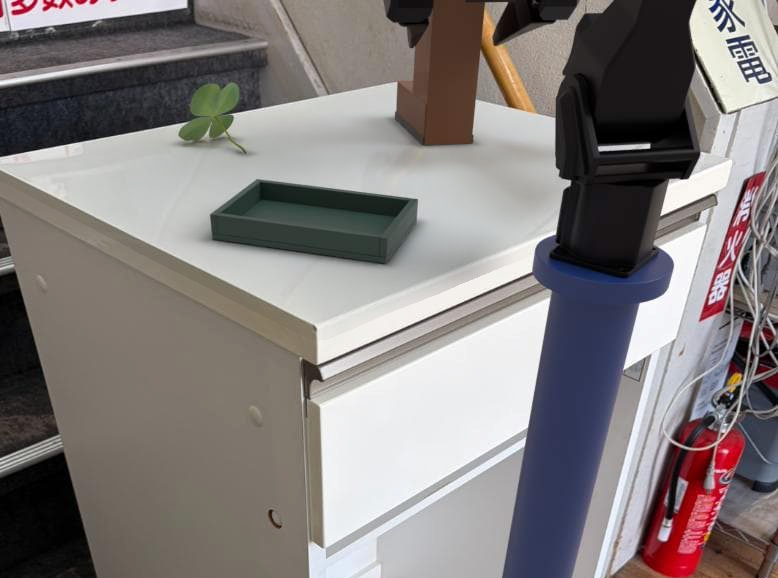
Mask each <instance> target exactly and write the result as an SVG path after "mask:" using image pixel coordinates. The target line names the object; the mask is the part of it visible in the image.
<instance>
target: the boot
mask: <svg viewBox="0 0 778 578" xmlns="http://www.w3.org/2000/svg"><path fill="white" fill-rule="evenodd" d="M485 7H486V2H476V3H466V2H465V0H434V5H433V10H432V13H431V15H430V17H428V19H429V26H428V27H427V29H426V31H425V32H424V34H423V35H422V37H421V39H420V40H419V42H418V44H417V45H416V46H415V47H414V59H413V77H412V80H397V83H396V106H395V107H396V109H395V111H394V119H395V120H396V121H397V123H398V124H400V125H401V127H403V128H404V129H405V130H406V131H407V132H408V133H409V134H410V135H411V136H412V137H413V138H414V139H416V141H418V143H420V144H421V145H422V146H441V145H463V144H464V145H465V144H473V143H474V134H473V133H474V122H475V113H476V112H475V111H476V103H477V102H476V100H477V91H478V79H479V71H480V60H481V49H482V39H483V29H484V19H485V10H486V9H485Z"/></svg>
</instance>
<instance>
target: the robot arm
mask: <svg viewBox="0 0 778 578" xmlns="http://www.w3.org/2000/svg"><path fill="white" fill-rule="evenodd" d="M382 1H383V6H384V11H385V12H384V13H385V17H386V18H387V20H389V21H390V22H392V23H393V24H398V26H400V27H402V28H406V34H407V43H408V48H409V49H415V46H416V45H417V44H418V42H419V40H420V39H421V37H422V35H423V34H424V32H425V31H426V29H427V27H428V26H429V19H428V17H430V15H431V13H432V10H433V5H434V0H382ZM580 1H581V0H465V2H466V3H476V2H485V3H507V4H506V5H505V7H504V10H503V12H502V13H501V15H500V18H499V20H498V21H497V23H496V26H495V28H494V31H493V34H492V36H491V37H492V38H491V39H492V44H493V47H499V46H501V45H504V44H505V43H508V42H510V41H512V40H514V39H516V38H518V37H520V36H523V35H525V34H527V33H529V32H533V31H534V30H537V29H540V28H542V27H544V26H547V25H554V24H555V23H556V22H557V21H568V20H569V19H570V18H571V16H572V15H573V13H574V12H575V10H576V9H577V7H578V6H579V4H580ZM697 1H698V0H612V1H611V2H610V3H609V5H608V6H607V7H606V8H605V9H604V10H603V11H602V12H585V13H584V14H583V15H582V17H581V18H580V19H579V22H578V23H577V24H576V26H575V30H574V35H573V40H572V44H571V49H570V53H569V56H568V59H567V61H566V63H565V65H564V67H563V68H562V72H561V74H562V76H563V77H564V78H563V79H562V80H561V82H560V85H559V87H558V90H557V94H556V96H555V116H554V117H555V119H554V121H555V122H554V123H555V124H554V125H555V128H554V129H555V132H554V157H555V168H556V169H557V170H558V171H559V172H558V178H560V179H561V180H566V181H570V185H568V186H566V187H565V188H564V189H562V190H563V191H562V195H561V201H560V207H559V212H558V213H559V214H558V218H557V225H556V231H555V235H556V236H555V241H556V243H557V244H560V245H558V246H557V247H555V248H554V249H552V250H550V254H549V257H550V258H551V259H554V260H558V261H561V262H565V263H569V264H572V265H576V266H579V267H583V268H586V269H590V270H594V271H597V272H601V273H604V274H608V275H612V276H615V277H619V278H625V279H626V278H629V277H631V276H632V275H633V274H634V273H636V272H637V271H638V270H640V269H641V268H642V267H644V266H645V265H646V264H647V263H649V262H650V261H651V260H653V259H654V258H655V257H657V256H658V253H659V249H658V248H656V247H653V245H655V244H654V243H655V241H656V240H655V239H656V236H657V232H658V227H659V223H660V219H661V215H662V211H663V207H664V203H665V199H666V196H667V191H668V187H669V183H670V180H680V181H685V180H689V179H690V177H691V175H692V173H693V172H694V169H696V166H697V164H698V162H699V160H700V158H701V154H702V153H701V147H700V142H699V137H698V133H697V128H696V123H695V119H694V114H693V109H692V105H691V101H690V97H689V92H690V89H691V86H692V82H693V79H694V76H695V73H696V67H697V63H696V56H695V50H694V49H695V48H694V42H693V38H692V30H691V23H690V22H691V18H692V14H693V12H694V9H695V7H696V4H697ZM636 145H637V146H638V145H649V148H648V147H647V148H632V149H631V148H630V149H615V150H614V149H613V150H599V147H617V146H619V147H620V146H636Z"/></svg>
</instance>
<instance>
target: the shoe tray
mask: <svg viewBox="0 0 778 578" xmlns="http://www.w3.org/2000/svg"><path fill="white" fill-rule="evenodd" d="M418 207H419V199H418V198H413V197H404V196H398V195H388V194H380V193H375V192H374V193H372V192H365V191H356V190H349V189H342V188H333V187H325V186H317V185H309V184H300V183H293V182H285V181H276V180H268V179H262V178H261V179H259V178H256V179H255V180H254V181H252V182H251V183H250V184H248V185H247V186H245V187H244V188H243V189H242V190H241V191H239V192H238V193H236V194H235V195H234V196H232V197H231V198H229V199H228V200H227V201H225V203H223V204H222V205H220V206H219V207H218V208H217V209H215V210H214V211H212V212H211V213H210V214H209V219H210V231H211V238H212V239H211V240H215V241H216V240H217V241H223V242H229V243H237V244H244V245H252V246H258V247H265V248H274V249H279V250H280V249H281V250H287V251H288V250H289V251H293V252H300V253H307V254H316V255H323V256H329V257H337V258H343V259H351V260H357V261H363V262H364V261H365V262H370V263H371V262H372V263H379V264H387V263H388V262H389V261H390V260H391V258H392V257H393V255H394V254H395V252H396V251H397V250H398V249H399V248H400V245H401V244H402V243H403V242H404V240H405V239H406V238H407V236H408V235H409V234H410V232H411V231H412V229H414V227H415V226H416V224H417V222H418Z"/></svg>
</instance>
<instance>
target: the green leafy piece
mask: <svg viewBox="0 0 778 578" xmlns="http://www.w3.org/2000/svg"><path fill="white" fill-rule="evenodd" d="M239 99H240V87H239V85H238V84H237V83H236V82H233V81H231V82H228V83H227V84H226V85H225V87H223V88H222V89H221V87H220V85H218V83H212V82H211V83H205V84H204V85H202V86H200V87H199V88H198V89H197V90H196V91H195V92H194V93H193V96H192V99H191V100H190V105H189V111H190V113H191V114H192V115H193V116H195V118H194V119H192V120H190V121H188V122H187V123H185V124H184V125H182V127H181V128H180V129H179V131H178V134H177V136H178V137H179V138H180V139H181V140H183V141H186V142H189V141H192V142H195V141H196V142H197V141H199V140H201V139H202V138H204V137H205V135H206V134H207V132H208V137H209V138H210V139H216V138H218V137H221V136H222V135H223V134H224V133H225V135H226V136H227V139H229V141H230V142H231V143H232V144H234V145H235V146H236V147H238V148H239V149H241V150H242V152H243V153H244V154H245V155H246V154H247V153H248V152H247V151H246V149H245V148H244V147H243V146H242V145H240V144H238V143H237V142H236V141H235V140H233V138H232V137H231V136H230V134H229V132H228V130H229V129H230V128H231V126H232V125H233V122H234V120H235V116H234V115H233V114H231V113H228V114H225V113H227V112H230V111H232V110H233V109H234V108H235V107H236V106H237V105H238V103H239Z"/></svg>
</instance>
